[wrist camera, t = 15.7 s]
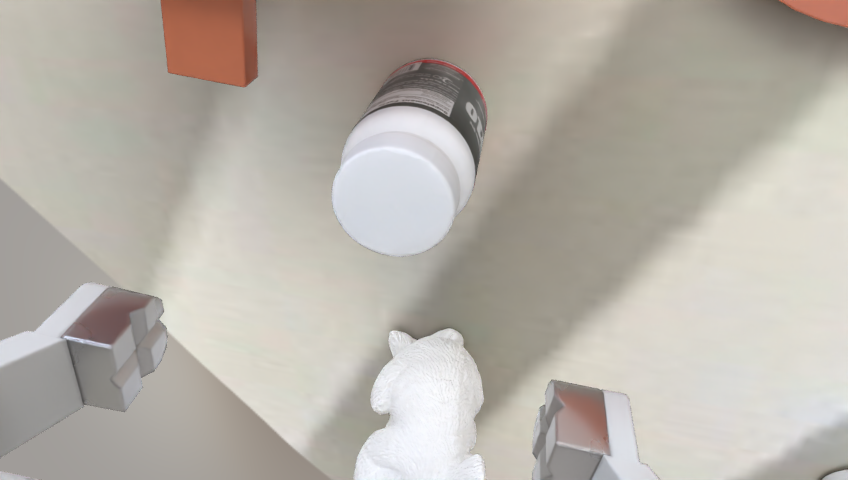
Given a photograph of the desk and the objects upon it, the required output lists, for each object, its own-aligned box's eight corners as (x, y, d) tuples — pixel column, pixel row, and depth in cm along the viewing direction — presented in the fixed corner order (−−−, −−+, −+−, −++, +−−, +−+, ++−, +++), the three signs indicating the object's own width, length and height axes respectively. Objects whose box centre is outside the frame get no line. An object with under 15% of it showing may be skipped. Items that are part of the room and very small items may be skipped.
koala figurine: (397, 410, 37) (344, 620, 27) (338, 330, 34) (255, 532, 24) (528, 377, 34) (522, 601, 24) (474, 286, 31) (443, 496, 21)
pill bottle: (480, 168, 27) (458, 279, 20) (376, 152, 28) (321, 257, 21) (495, 63, 25) (477, 150, 18) (381, 48, 25) (320, 127, 18)
